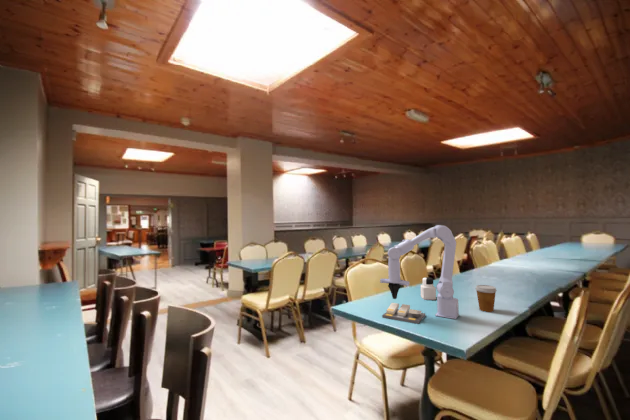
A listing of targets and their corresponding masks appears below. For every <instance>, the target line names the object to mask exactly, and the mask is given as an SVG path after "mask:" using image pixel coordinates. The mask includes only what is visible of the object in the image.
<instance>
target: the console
mask: <svg viewBox="0 0 630 420" xmlns="http://www.w3.org/2000/svg"><path fill="white" fill-rule="evenodd" d="M399 309H400V308H398V309H397V311H396V312H395V314H388V313H387V311H386V312H384V313H383V314H382V315H381V317H382V319H383V318H384V319H388V320H394V321H400V322H406V323H411V324H417V325H418V324H419V323H421V321H422V320H423V319H424V318H425V317H426V313H425V312H424V313H423V312H421V314H412V313H409V311H408V313H407V314H406V316H399V315H398V311H399Z"/></svg>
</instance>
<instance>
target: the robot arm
mask: <svg viewBox="0 0 630 420" xmlns="http://www.w3.org/2000/svg"><path fill="white" fill-rule="evenodd" d="M431 238H433V239H434V238H437V239H439V240H440V241H441V242H442V244H444V250H443V257H442V265H441V272H440V277H439V280H438V283H437V284H436V287H435V288H436V292H438V293H437V294H436V301H437V302H436V303H437V304H436V305H437V312H436V313H435V314H434V315H435V317H439V318H440V317H441V318H447V319H453V320H456V319H457V318H458V317H459V315H460V314H459V313H460V311H459V299H458V297H457V298H456V297H454V294H455V291H454V287H453V286H454V282H453V272H454V264H455V256H456V249H457V248H456V247H457V241H456V238H455V237H454V234H453V233H452V230H451V229H450V228H449V227H448V226H447V225H443V224H435V226H433V227H429V228H428V229H426V230H424V231H423V232H421V233H420V234H417V235H416V236H414V237H413V238H411V239H409V238H408V239H406V238H405V239H402V241H401V242H400V243H398V244H395V245H393V247H390V248H389V249H388V250H387V256H388V263H387V264H388V266H387V267H388V269H387V270H388V278H380V279H379V283H381V284H388V285H387V287H388V289H389V290H390V293H391V297H392V299H393V300H396V299H397V298H398V293H399V290H400V288H401V286H406V287H409V286H410V281H409V280H404V279H402V280H401V262H400V258H401V256H403V255H405V254H407V253H409V252H410V251H412V250H414V247H415V246H416V245H418V244H419V243H422V242H424V241H425V240H428V239H431Z"/></svg>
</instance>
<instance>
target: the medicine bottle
mask: <svg viewBox="0 0 630 420" xmlns="http://www.w3.org/2000/svg"><path fill="white" fill-rule="evenodd" d="M421 280H422V281H421V282H422V284H420V297H421V298H422V299H423V300H424V301H425V300H428V301H429V300H431V301H435V300H436V301H437V289H436V287H435V286H434V279H433V278H432V277H429V276H428V277H427V276H426V277H423V278H422V279H421Z"/></svg>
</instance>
